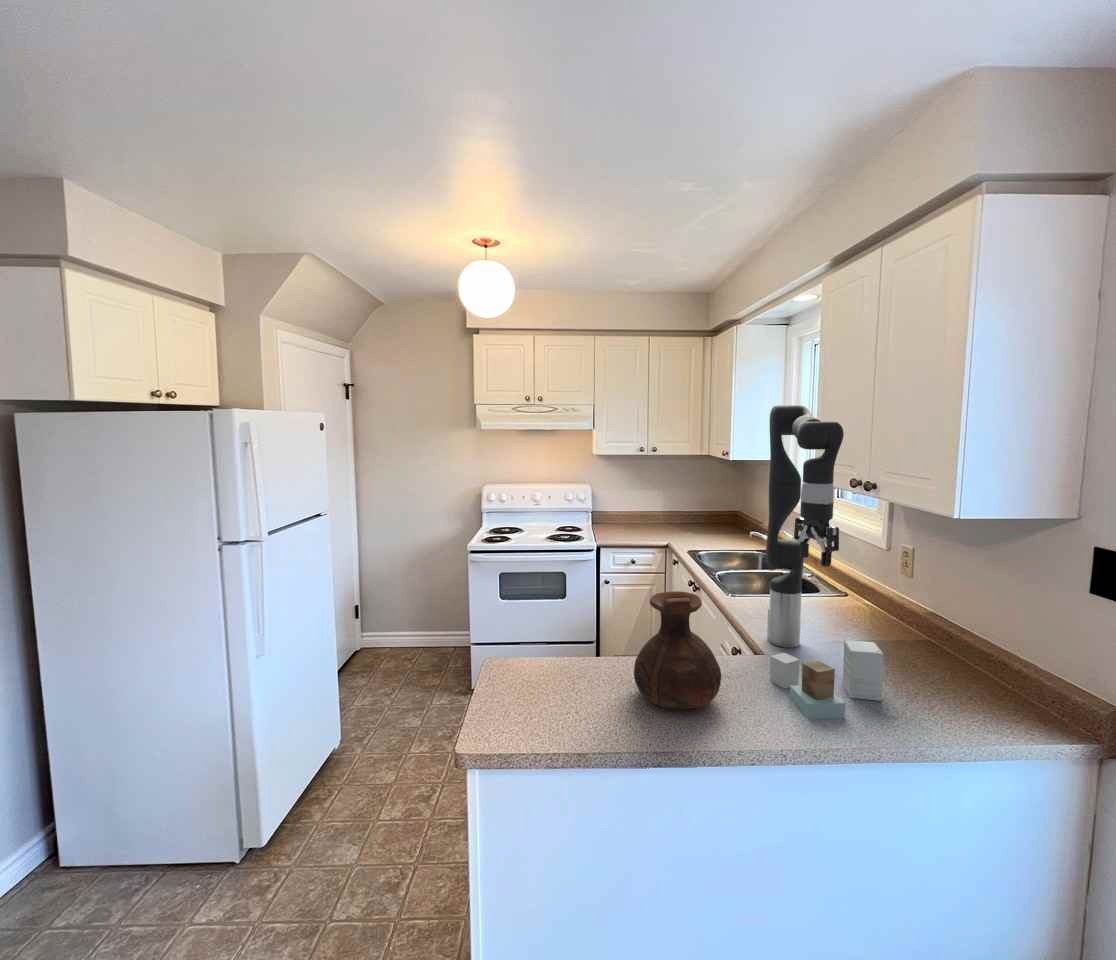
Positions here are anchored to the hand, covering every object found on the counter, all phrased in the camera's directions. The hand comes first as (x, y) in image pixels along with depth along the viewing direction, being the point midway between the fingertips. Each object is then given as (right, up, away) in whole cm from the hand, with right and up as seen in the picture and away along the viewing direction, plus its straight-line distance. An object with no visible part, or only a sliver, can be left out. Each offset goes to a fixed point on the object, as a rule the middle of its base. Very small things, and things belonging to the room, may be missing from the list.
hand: (814, 561), depth 136 cm
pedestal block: (-3, -35, -7) cm, 36 cm away
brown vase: (-37, -35, -2) cm, 51 cm away
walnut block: (-3, -31, -7) cm, 32 cm away
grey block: (-5, -34, +6) cm, 35 cm away
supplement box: (+12, -34, 0) cm, 36 cm away
